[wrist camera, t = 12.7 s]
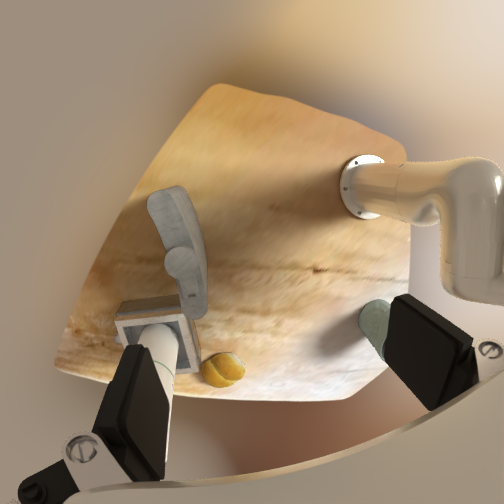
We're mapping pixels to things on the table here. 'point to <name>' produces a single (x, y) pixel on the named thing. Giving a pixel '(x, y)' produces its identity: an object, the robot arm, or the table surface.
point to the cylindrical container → (162, 357)
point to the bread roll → (223, 370)
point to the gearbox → (160, 312)
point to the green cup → (375, 324)
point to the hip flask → (182, 247)
